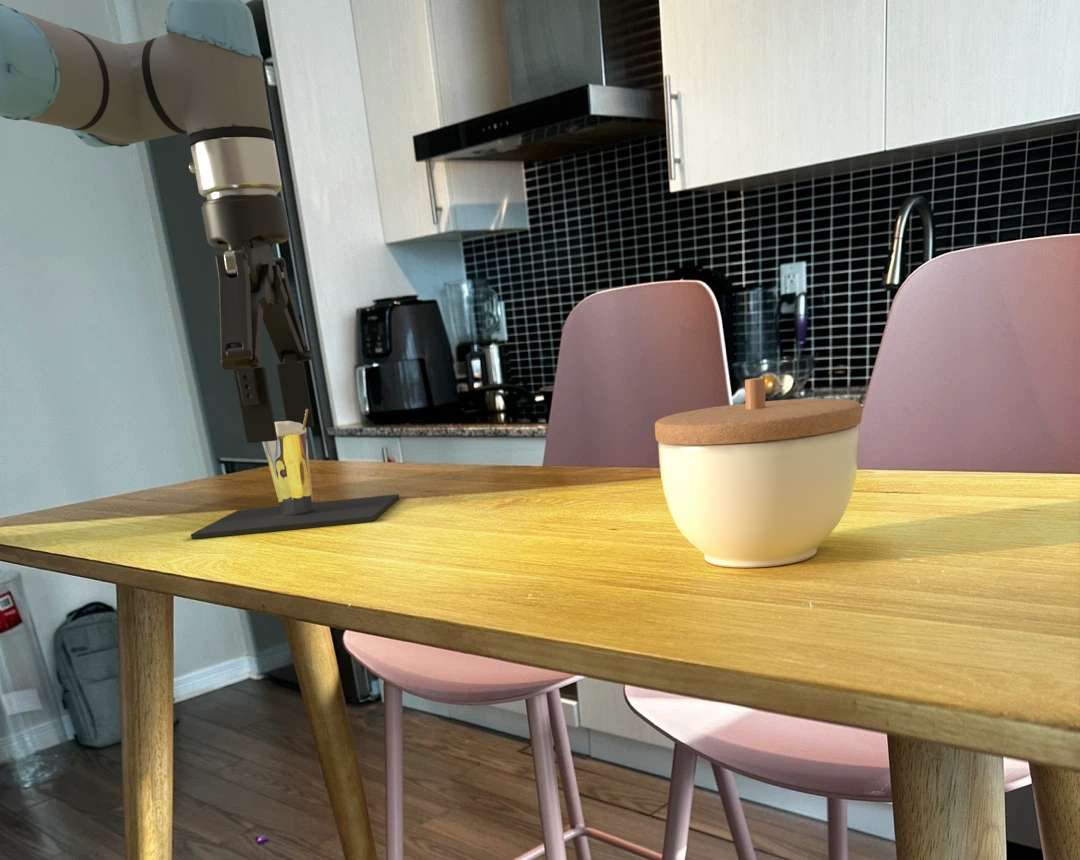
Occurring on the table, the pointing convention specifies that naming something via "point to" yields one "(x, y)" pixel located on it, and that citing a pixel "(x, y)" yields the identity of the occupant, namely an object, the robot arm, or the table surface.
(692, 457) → the lidded bowl
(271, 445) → the milkshake
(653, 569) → the table surface
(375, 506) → the mat
